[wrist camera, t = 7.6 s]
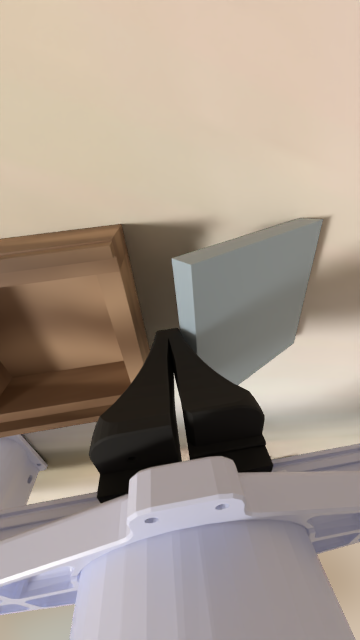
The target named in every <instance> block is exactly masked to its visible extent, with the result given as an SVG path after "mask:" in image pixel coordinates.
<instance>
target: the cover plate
mask: <svg viewBox="0 0 360 640" xmlns="http://www.w3.org/2000/svg"><path fill="white" fill-rule="evenodd" d="M322 221H323V219H309V218H299V219H296V220H293V221H289V222H286V223H283V224H280V225H276V226H273V227H270V228H267V229H264V230H260V231H257V232H254V233H251V234H248V235H244V236H241V237H238V238H235V239H232V240H228V241H225V242H222V243H219V244H215V245H212V246H209V247H206V248H203V249H199V250H196V251H193V252H190V253H187V254H183V255H180V256H177V257H174V258H172V266H173V275H174V283H175V291H176V300H177V308H178V317H179V325H180V333H181V334H182V336H183V338H184V339H185V341H186V342H187V343H188V345H189V346H190V347H191V348H192V350H193V351H194V352H195V353H196V354H197V355H198V356H199V357H200V358H201V359H202V360H203V361H204V362H205V363H206V364H207V365H208V366H209V367H211V368H212V369H213V370H214V371H216V372H217V373H219V374H220V375H221V376H223V377H224V378H226V379H227V380H229V381H230V382H232V383H234V384H236V385H239V384H240V383H241V382H243V381H244V380H245V379H247V378H248V377H249V376H251V375H252V374H253V373H255V372H256V371H257V370H259V369H260V368H261V367H263V366H264V365H265V364H267V363H268V362H269V361H271V360H272V359H273V358H275V357H276V356H277V355H279V354H280V353H281V352H283V351H284V350H285V349H287V348H288V347H289V346H291V345H292V344H293V343H294V340H295V336H296V331H297V327H298V323H299V319H300V314H301V310H302V306H303V302H304V298H305V293H306V289H307V285H308V281H309V276H310V272H311V268H312V264H313V259H314V255H315V251H316V247H317V243H318V238H319V234H320V230H321V226H322Z"/></svg>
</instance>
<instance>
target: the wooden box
mask: <svg viewBox="0 0 360 640" xmlns="http://www.w3.org/2000/svg"><path fill="white" fill-rule="evenodd" d="M149 352H150V349H149V345H148V340H147V336H146V331H145V327H144V322H143V318H142V314H141V309H140V305H139V300H138V296H137V291H136V287H135V282H134V278H133V273H132V269H131V264H130V260H129V256H128V251H127V247H126V242H125V238H124V233H123V229H122V224H117V225H109V226H101V227H93V228H85V229H77V230H68V231H60V232H52V233H44V234H36V235H28V236H20V237H12V238H4V239H0V438H2V437H7V436H13V435H19V434H25V433H31V432H37V431H43V430H49V429H55V428H61V427H67V426H73V425H79V424H85V423H91V422H97V421H98V419H99V417H100V416H101V415H102V414H103V413H104V412H105V411H106V410H107V409H108V408H109V407H110V406H112V405H113V404H114V403H115V402H116V401H117V399H118V398H119V397H120V396H121V395H122V394H123V393H124V392H125V390H126V389H127V388H128V387H129V385H130V384H131V383H132V381H133V380H134V379H135V377H136V376H137V374H138V373H139V371H140V369H141V368H142V366H143V364H144V362H145V360H146V358H147V356H148V354H149Z"/></svg>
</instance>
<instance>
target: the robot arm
mask: <svg viewBox="0 0 360 640" xmlns="http://www.w3.org/2000/svg"><path fill="white" fill-rule="evenodd" d="M174 375H175V379H176V383H177V388H178V392H179V396H180V400H181V404H182V410H183V417H184V423H185V430H186V437H187V443H188V450H189V457H190V460H188V461H183V462H182V460H181V452H180V444H179V436H178V429H177V421H176V413H175V400H174ZM263 425H264V414H263V412H262V409H261V408H260V406H259V404H258V403H257V401H256V400H255V398H254V397H253V396H252V394H251V393H250V392H249V391H248V390H246V389H244V388H242V387H240V386H238V385H236V384H234V383H232V382H230V381H229V380H227V379H226V378H224V377H223V376H221V375H220V374H219V373H217V372H216V371H214V370H213V369H212V368H211V367H209V366H208V365H207V364H206V363H205V362H204V361H203V360H202V359H201V358H200V357H199V356H198V355H197V354H196V353H195V352H194V351H193V350H192V348H191V347H190V346H189V345H188V343H187V342H186V341H185V339H184V338H183V336H182V334H181V333H180V330H179V329H178V328H174V329H168V330H161V331H157V332H156V335H155V339H154V342H153V345H152V347H151V350H150V352H149V354H148V356H147V358H146V360H145V362H144V364H143V366H142V368H141V369H140V371H139V373H138V374H137V376H136V377H135V379H134V380H133V381H132V383H131V384H130V385H129V387H128V388H127V389H126V390H125V392H124V393H123V394H122V395H121V396H120V397H119V398H118V399H117V401H116V402H115V403H114V404H113V405H112V406H110V407H109V408H108V409H107V410H106V411H105V412H104V413H103V414H102V415H101V416H100V417H99V419H98V422H97V424H96V427H95V430H94V433H93V437H92V441H91V446H90V452H89V456H90V459H91V461H92V462H93V464H94V465H95V467H96V468H97V470H98V471H99V473H100V480H99V486H98V492H95V493H89V494H84V495H78V496H73V497H67V498H62V499H57V500H51V501H46V502H40V503H35V504H29V505H26V504H27V501H28V499H29V496H30V493H31V491H32V488H33V486H34V483H35V480H36V478H37V475H38V472H39V471H42V470H46V469H47V466H48V465H47V464H46V463H45V461H44V460H43V459H42V458H41V457H40V456H39V455H38V454H37V452H36V451H35V450H34V449H33V448H32V447H31V446H30V444H29V443H28V442H27V441H26V440H25V439H24V438H23V437H22V435H21V434H19V435H13V436H7V437H2V438H0V615H4V614H10V613H18V612H25V611H31V610H39V609H45V608H53V607H60V606H66V605H74V604H75V608H74V614H73V620H72V625H71V631H70V637H69V640H355V637H354V635H353V633H352V631H351V629H350V627H349V624H348V622H347V620H346V617H345V615H344V613H343V611H342V609H341V607H340V604H339V602H338V600H337V598H336V596H335V593H334V591H333V589H332V587H331V584H330V582H329V580H328V578H327V576H326V573H325V571H324V569H323V567H322V565H321V562H320V560H319V558H318V556H317V554H319V553H323V552H326V551H329V550H333V549H337V548H340V547H344V546H348V545H351V544H355V543H358V542H360V444H355V445H350V446H344V447H339V448H333V449H328V450H322V451H317V452H312V453H306V454H301V455H295V456H290V457H284V458H279V459H274V460H271V458H270V456H269V454H268V451H267V449H266V447H265V445H266V442H265V439H264V437H263V435H262V431H263Z"/></svg>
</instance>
